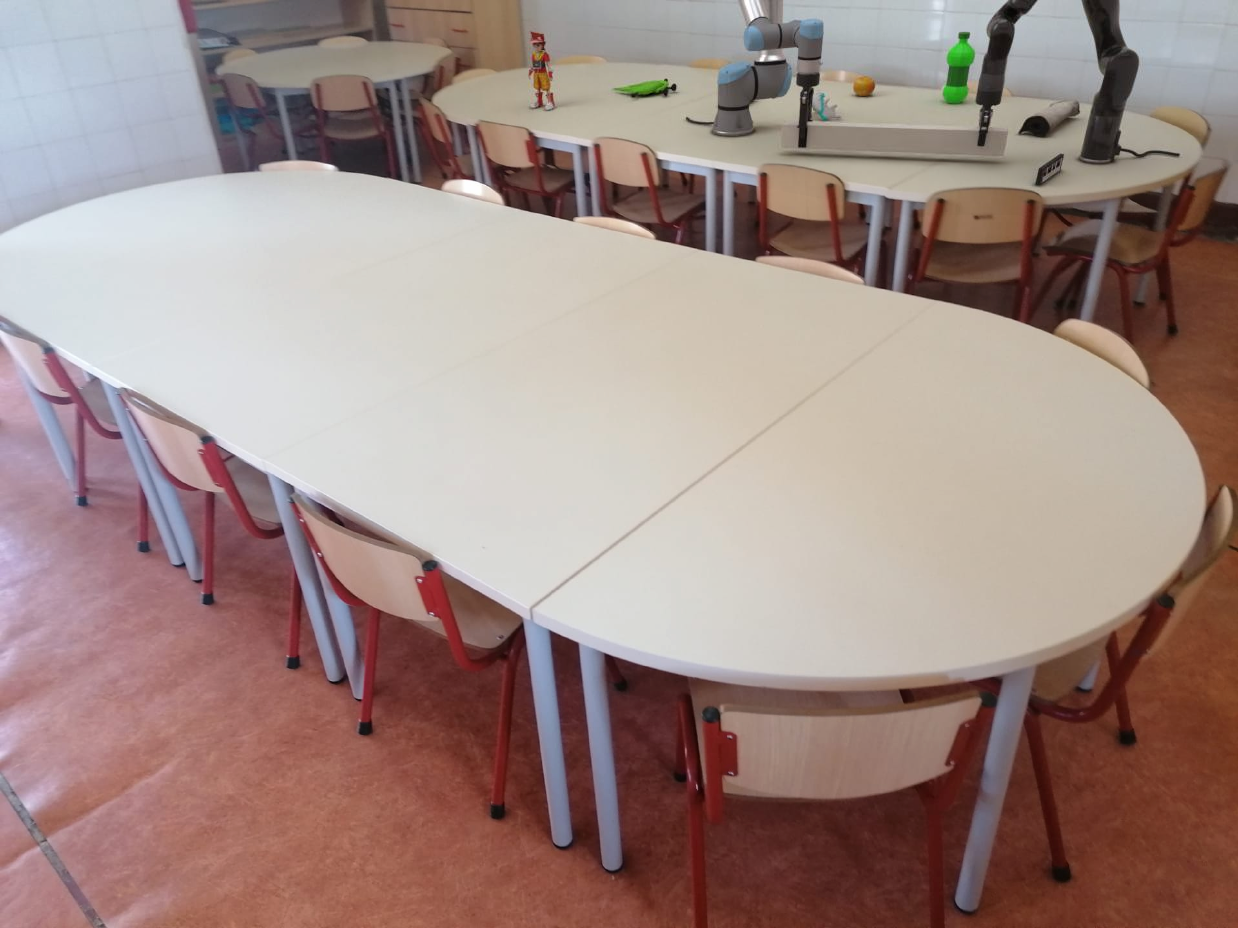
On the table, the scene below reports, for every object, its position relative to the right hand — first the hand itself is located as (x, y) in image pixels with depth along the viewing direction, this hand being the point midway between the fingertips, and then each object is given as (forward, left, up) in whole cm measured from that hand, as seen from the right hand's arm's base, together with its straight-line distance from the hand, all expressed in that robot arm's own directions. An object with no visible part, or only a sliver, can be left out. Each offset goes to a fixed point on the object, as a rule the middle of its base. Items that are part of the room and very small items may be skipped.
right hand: (980, 143), depth 288 cm
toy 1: (+161, -88, -6) cm, 184 cm away
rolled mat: (-33, -41, -6) cm, 53 cm away
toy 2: (+121, -112, -6) cm, 165 cm away
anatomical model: (+45, -62, -6) cm, 77 cm away
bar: (+28, -6, -3) cm, 28 cm away
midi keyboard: (-17, +18, -6) cm, 25 cm away
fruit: (+26, -94, -6) cm, 98 cm away
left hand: (+55, -12, -3) cm, 57 cm away
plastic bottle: (-7, -79, -6) cm, 80 cm away
